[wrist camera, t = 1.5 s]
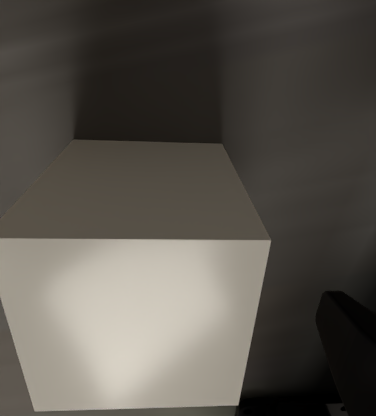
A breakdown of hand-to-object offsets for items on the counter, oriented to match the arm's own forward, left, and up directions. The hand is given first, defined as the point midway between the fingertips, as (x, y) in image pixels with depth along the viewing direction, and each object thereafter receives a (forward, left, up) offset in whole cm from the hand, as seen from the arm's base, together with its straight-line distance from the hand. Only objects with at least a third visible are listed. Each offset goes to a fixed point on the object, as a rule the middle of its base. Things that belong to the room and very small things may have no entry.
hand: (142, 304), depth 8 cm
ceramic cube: (0, 0, -5) cm, 5 cm away
